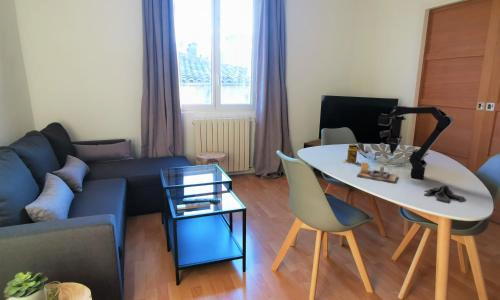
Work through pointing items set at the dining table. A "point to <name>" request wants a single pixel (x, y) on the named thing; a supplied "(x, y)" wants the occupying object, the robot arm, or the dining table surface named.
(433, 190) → the cloth
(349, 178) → the dining table surface
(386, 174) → the link
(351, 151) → the condiment
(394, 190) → the dining table surface
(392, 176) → the keeper plate
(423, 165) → the robot arm
